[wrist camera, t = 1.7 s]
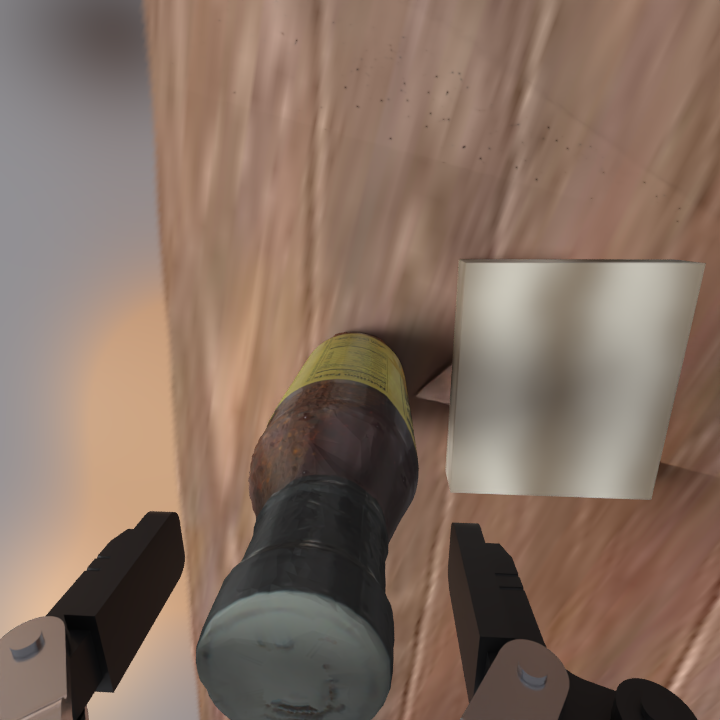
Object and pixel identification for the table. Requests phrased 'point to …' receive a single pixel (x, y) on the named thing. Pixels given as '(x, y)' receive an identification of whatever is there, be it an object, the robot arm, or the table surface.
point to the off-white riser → (566, 374)
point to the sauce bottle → (318, 546)
